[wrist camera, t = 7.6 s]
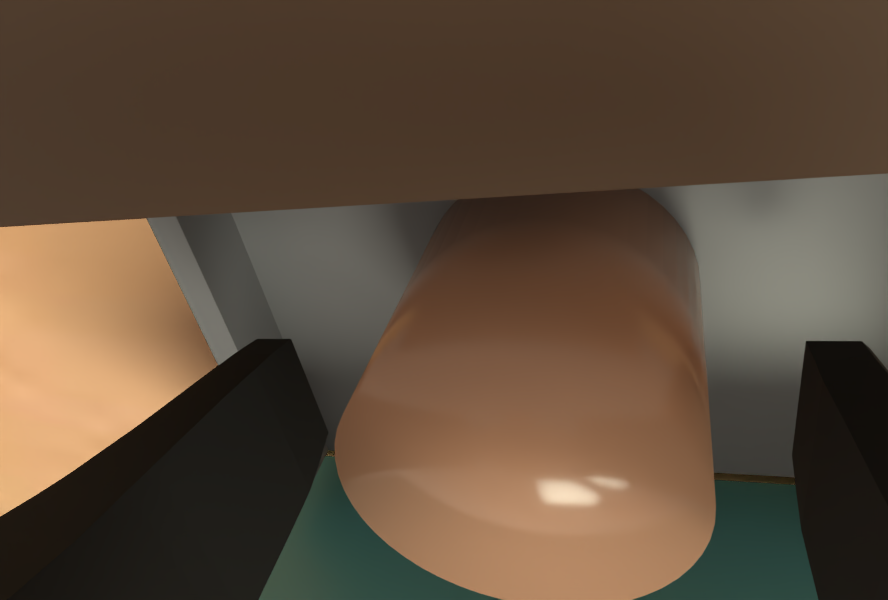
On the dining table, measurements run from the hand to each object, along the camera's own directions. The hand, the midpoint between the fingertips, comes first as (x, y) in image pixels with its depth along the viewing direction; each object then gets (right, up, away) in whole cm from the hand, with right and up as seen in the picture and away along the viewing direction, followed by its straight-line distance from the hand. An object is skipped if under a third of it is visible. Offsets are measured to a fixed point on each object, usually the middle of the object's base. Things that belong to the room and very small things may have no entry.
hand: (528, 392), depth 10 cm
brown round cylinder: (+1, +2, +2) cm, 3 cm away
